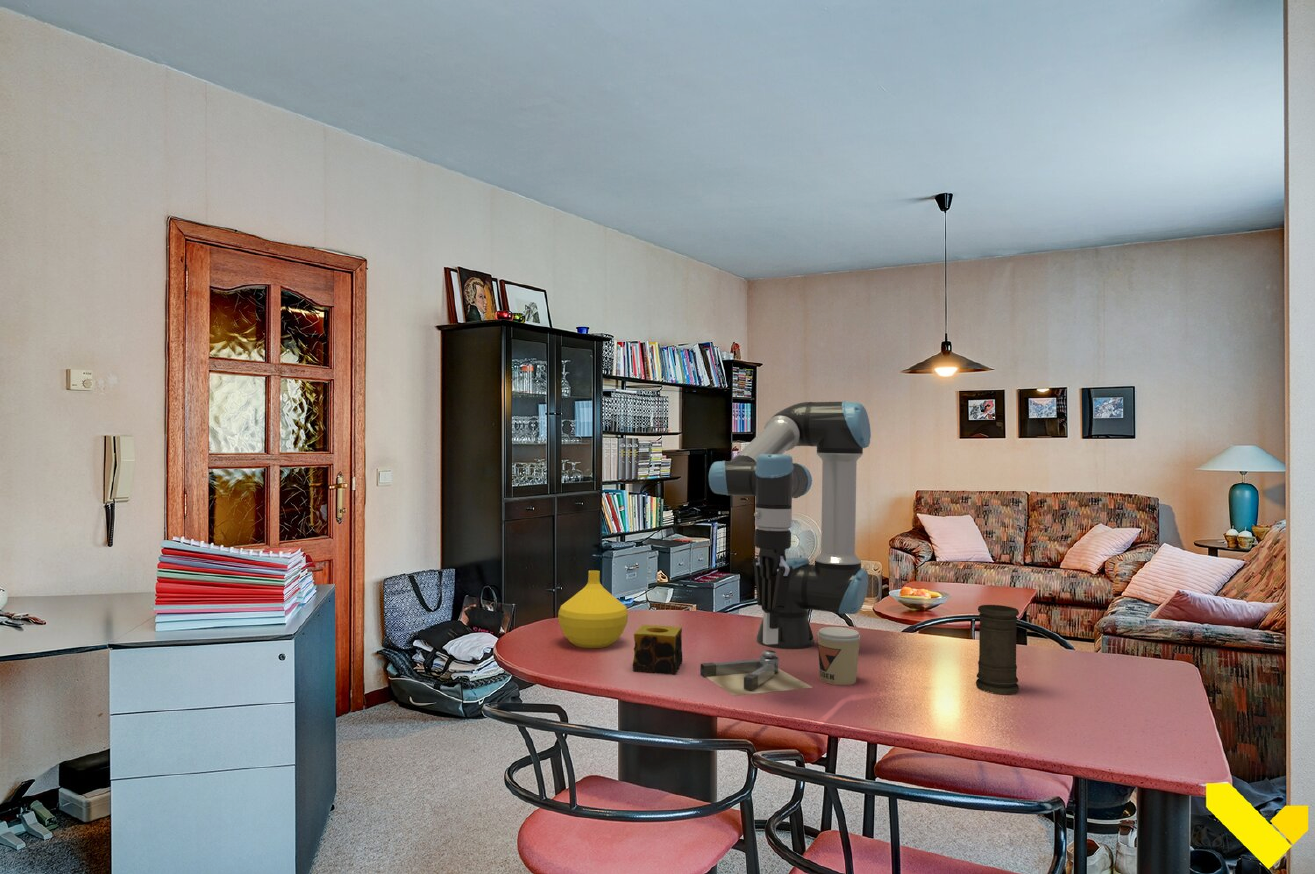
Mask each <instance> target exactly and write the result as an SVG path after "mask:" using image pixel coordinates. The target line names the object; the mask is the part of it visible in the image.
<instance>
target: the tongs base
mask: <svg viewBox="0 0 1315 874" xmlns="http://www.w3.org/2000/svg"><path fill="white" fill-rule="evenodd" d="M758 658H759V660H758V659H746V660H733V661H721V662H704V663H700V669H699V671H700V674H699V675H700V676H701V677H703V678H707V677H711V676H720V675H731V674H741V673H752V672H754V671H756V670H757V669H759V668H761V667H762V666H764V665H766V664H773V665H774V674H778V669H779V663H780V662H779V661H780V660H779V657H777V656H776V657H774V658H766V657H763V656H762V655H761V656H759V657H758Z"/></svg>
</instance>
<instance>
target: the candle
mask: <svg viewBox="0 0 1315 874" xmlns="http://www.w3.org/2000/svg"><path fill="white" fill-rule="evenodd" d="M682 632H683V627H682V626H674V625H673V626H671V625H657V624H656V625H653V624H642V625H641V626H640V627H639V628H638V630H636V631H635V632H634V633H633V641H634V647H633V651H634V653H633V662H632V672H634V673H644V674H645V673H646V674H662V675H663V674H664V675H671V676H676V675H677V674H678V672H679V670H680V667H681V665H682V664H683V659H684V658H683V649H682V647H683V641H682V637H683V635H682V634H683V633H682Z"/></svg>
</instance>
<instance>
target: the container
mask: <svg viewBox="0 0 1315 874" xmlns="http://www.w3.org/2000/svg"><path fill="white" fill-rule="evenodd" d="M977 612H978V613H979V614H978V616H979V625H978V627H979V632H978V633H979V637H978V638H979V639H978V640H979V641H978V643H979V644H978V645H979V651H978V652H979V655H978V661H977V665H978V672H977V674H976V678H977V679H976V681H975V685H976V688H978V689H979V690H981V691H983V690H985V691H984V692H986V691H989V692H988V693H990V692H993V693H992V694H995V693H999V694H998V695H1013V693H1014V694H1017V693H1018V692H1019V689H1020V686H1019V684H1018V682H1019V678H1018V677H1017V669H1018V665H1017V631H1018V627H1017V621H1018V616H1019V615H1020V613H1019V610H1018V609H1017V608H1016V607H1013V606H1008V605H999V604H982V605H978V608H977ZM1016 692H1017V693H1016Z"/></svg>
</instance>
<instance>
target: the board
mask: <svg viewBox="0 0 1315 874" xmlns="http://www.w3.org/2000/svg"><path fill="white" fill-rule="evenodd" d="M752 673H753V672H752ZM748 674H751V673H741V674H731V675H720V676H711V677H706V678H707V679H708V680H710V681H711V682H712V683H714V684H716V685H717V686H718V687H720V688H722V689H723V690H724V691H726V692H727V693H729V694H731V696H733V697H736V696H737V697H738V696H748V695H756V694H767V693H775V692H776V693H777V692H785V691H795V690H797V691H798V690H805V689H813V688H814V687H813V686H812V685H809V684H807V683H805V682H804V681H802V680H801V679H799V678H797V677H794V676H793V675H791V674H790V673H787V672H785V671H784V670H782V669H780V668H778V674H774V676H773V677H771V678H770V679H768V680H767V681H765V682H764V683H762V684H761V685H759V686H758V687H757V688H755V689H754V690H747V689H744V677H745V676H746V675H748Z"/></svg>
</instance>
